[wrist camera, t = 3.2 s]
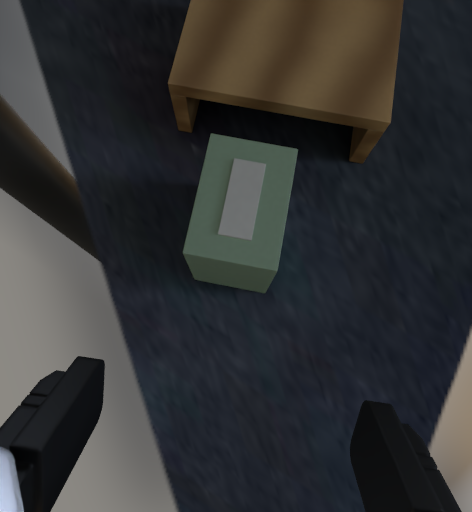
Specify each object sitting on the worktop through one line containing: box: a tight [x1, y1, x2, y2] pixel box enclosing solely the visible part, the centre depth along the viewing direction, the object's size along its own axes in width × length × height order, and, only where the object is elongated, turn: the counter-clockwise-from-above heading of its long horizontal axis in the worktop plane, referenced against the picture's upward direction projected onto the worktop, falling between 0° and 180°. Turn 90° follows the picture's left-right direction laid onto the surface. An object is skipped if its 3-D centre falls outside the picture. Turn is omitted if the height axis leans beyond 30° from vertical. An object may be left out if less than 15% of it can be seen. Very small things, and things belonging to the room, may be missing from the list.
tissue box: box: [183, 134, 298, 293], centre depth 27 cm, size 6×8×8 cm
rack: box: [168, 0, 403, 163], centre depth 31 cm, size 16×13×9 cm
